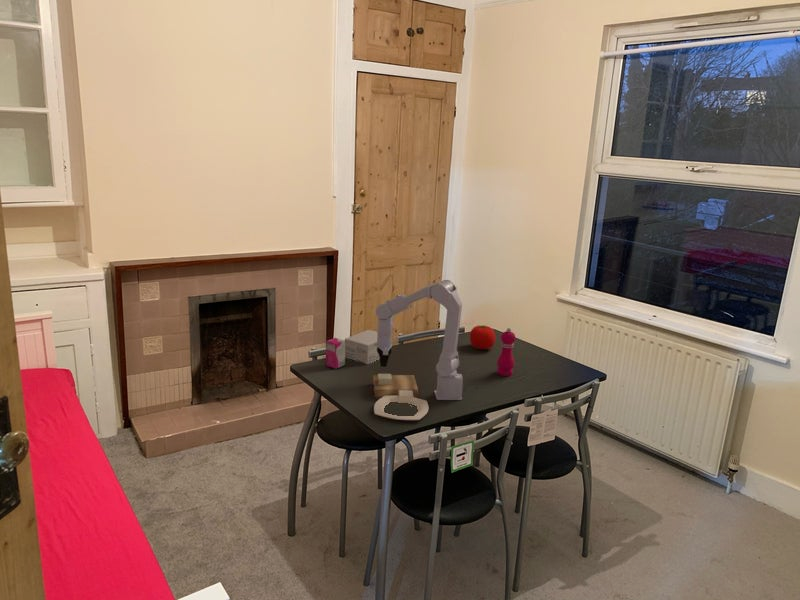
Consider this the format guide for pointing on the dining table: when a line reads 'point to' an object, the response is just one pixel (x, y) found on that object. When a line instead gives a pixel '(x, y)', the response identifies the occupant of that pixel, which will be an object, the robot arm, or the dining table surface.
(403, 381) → the oak board
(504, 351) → the pepper mill
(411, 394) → the white tile
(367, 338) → the supplement box
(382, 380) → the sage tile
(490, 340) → the tomato
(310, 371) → the dining table surface
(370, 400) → the dining table surface
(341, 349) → the supplement box
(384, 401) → the pale beige plate
